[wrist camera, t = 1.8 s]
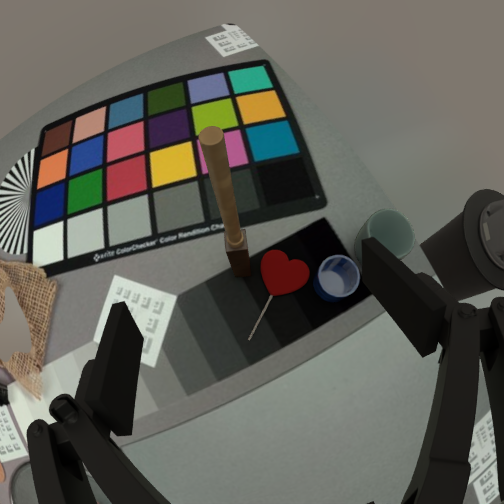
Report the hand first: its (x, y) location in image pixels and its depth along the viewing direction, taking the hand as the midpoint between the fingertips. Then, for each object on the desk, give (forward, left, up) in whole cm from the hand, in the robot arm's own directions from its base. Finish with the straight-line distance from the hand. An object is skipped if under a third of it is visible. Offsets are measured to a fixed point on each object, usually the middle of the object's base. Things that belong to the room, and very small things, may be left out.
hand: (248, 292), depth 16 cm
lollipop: (-3, -5, -33) cm, 34 cm away
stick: (+1, -10, -19) cm, 22 cm away
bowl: (-13, -6, -33) cm, 36 cm away
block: (+1, -10, -33) cm, 35 cm away
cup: (-21, -10, -34) cm, 41 cm away
